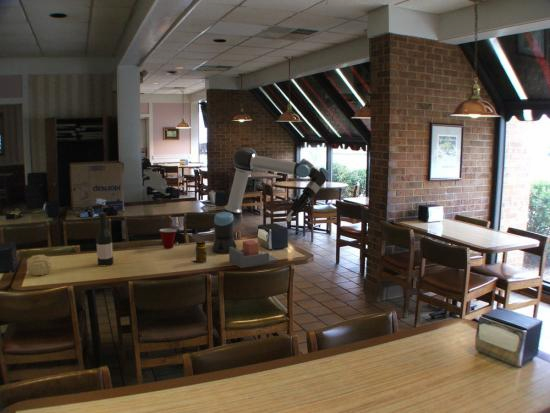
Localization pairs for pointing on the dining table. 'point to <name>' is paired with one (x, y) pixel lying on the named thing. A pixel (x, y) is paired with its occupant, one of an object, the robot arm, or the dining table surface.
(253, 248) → the red block
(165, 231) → the plastic cup
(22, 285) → the dining table surface
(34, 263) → the sculpture
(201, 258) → the condiment
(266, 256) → the grey open bin
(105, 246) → the wine bottle
